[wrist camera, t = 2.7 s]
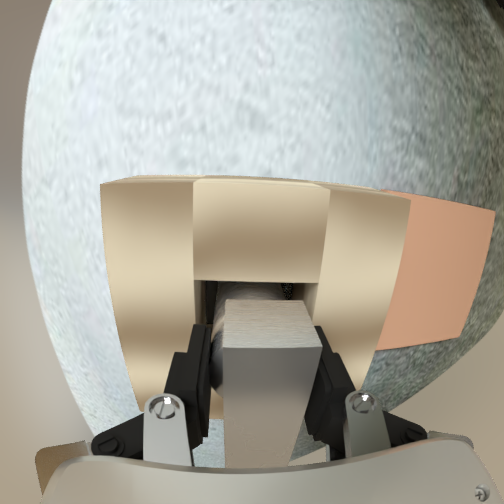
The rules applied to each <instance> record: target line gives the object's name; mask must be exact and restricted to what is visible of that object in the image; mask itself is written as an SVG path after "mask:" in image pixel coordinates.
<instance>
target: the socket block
mask: <svg viewBox="0 0 504 504" xmlns="http://www.w3.org/2000/svg"><path fill="white" fill-rule="evenodd" d="M100 197H101V216H102V230H103V241H104V250H105V259H106V267H107V274H108V281H109V288H110V294H111V299H112V305H113V310H114V316H115V321H116V325H117V330H118V335H119V339H120V343H121V347H122V351H123V355H124V359H125V363H126V367H127V371H128V374H129V378H130V381H131V384H132V388H133V391H134V394H135V397H136V400H137V404H138V407H139V409H140V411H142V412H144V407H145V403H146V402H147V400H148V399H149V398H151V397H152V396H154V395H157V394H163V392H164V388H165V385H166V381H167V377H168V373H169V369H170V366H171V362H172V358H173V355H174V352H187V350H188V345H189V341H190V336H191V332H192V328H193V324H205V325H206V328H211V337H212V329H213V324H206V287H205V280H215V281H245V282H289V283H293V289H292V297H291V300H303V302H304V305H305V307H306V309H307V311H308V314H309V316H310V318H311V320H312V323H313V325H314V326H319V325H320V326H321V327H322V329H323V332H324V334H325V336H326V338H327V340H328V342H329V345H330V347H331V349H332V351H333V353H335V352H337V353H339V355H340V357H341V359H342V361H343V363H344V365H345V367H346V369H347V371H348V373H349V376H350V378H351V380H352V382H353V384H354V386H355V388H356V391H358V390H360V389H361V387H362V384H363V382H364V379H365V377H366V374H367V372H368V369H369V366H370V364H371V361H372V358H373V355H374V353H375V350H376V347H377V344H378V341H379V338H380V335H381V332H382V329H383V325H384V322H385V319H386V316H387V312H388V309H389V305H390V302H391V298H392V294H393V290H394V286H395V283H396V278H397V274H398V270H399V266H400V261H401V256H402V252H403V247H404V241H405V236H406V231H407V225H408V219H409V212H410V205H411V200H410V199H406V198H403V197H400V196H397V195H393V194H390V193H387V192H383V191H380V190H376V189H373V188H369V187H364V186H356V185H347V184H339V183H329V182H319V181H308V180H297V179H283V178H268V177H250V176H224V175H139V176H133V177H129V178H124V179H120V180H116V181H111V182H107V183H103V184H100ZM209 419H224V409H223V398H222V397H221V396H219V395H218V394H217V393H216V392H215V391H214V389H213V388H211V401H210V414H209Z"/></svg>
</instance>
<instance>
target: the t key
mask: <svg viewBox="0 0 504 504" xmlns="http://www.w3.org/2000/svg"><path fill="white" fill-rule="evenodd" d="M322 347H323V346H322V344H321V341H320V339H319V337H318V334H317V332H316V330H315V327H314V325H313V323H312V320H311V318H310V316H309V314H308V311H307V309H306V307H305V305H304V302H303V300H286V298H285V295H284V292H283V289H282V286H281V283H280V282H245V281H219V283H218V289H217V297H216V305H215V313H214V321H213V329H212V337H211V350H210V359H209V378H210V385H211V387H212V388H213V389H214V391H215V392H216V393H217V394H218V395H219V396H221V397H222V398H223V409H224V446H225V468H272V467H287V466H288V463H289V460H290V458H291V455H292V452H293V449H294V446H295V443H296V440H297V437H298V434H299V431H300V428H301V424H302V421H303V418H304V415H305V411H306V408H307V405H308V401H309V398H310V394H311V390H312V387H313V383H314V379H315V376H316V372H317V368H318V364H319V360H320V356H321V352H322Z"/></svg>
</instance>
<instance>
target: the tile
mask: <svg viewBox="0 0 504 504" xmlns="http://www.w3.org/2000/svg"><path fill="white" fill-rule="evenodd" d="M381 191H383V192H387V193H390V194H393V195H397V196H400V197H403V198H406V199H410V200H411V205H410V212H409V219H408V225H407V231H406V236H405V241H404V247H403V252H402V256H401V261H400V266H399V270H398V274H397V278H396V283H395V286H394V290H393V294H392V298H391V302H390V305H389V309H388V312H387V316H386V319H385V322H384V325H383V329H382V332H381V335H380V338H379V341H378V344H377V347H376V350H384V349H392V348H399V347H406V346H413V345H419V344H425V343H431V342H436V341H442V340H447V339H452V338H457V337H459V336H460V334H461V332H462V329H463V327H464V324H465V322H466V319H467V317H468V314H469V311H470V309H471V306H472V303H473V300H474V297H475V294H476V291H477V288H478V285H479V282H480V278H481V275H482V272H483V268H484V264H485V261H486V257H487V253H488V248H489V244H490V240H491V235H492V230H493V225H494V219H495V213H496V212H495V211H492V210H489V209H485V208H481V207H477V206H472V205H468V204H463V203H459V202H454V201H449V200H444V199H439V198H434V197H428V196H423V195H417V194H411V193H405V192H399V191H392V190H385V189H381ZM376 350H375V351H376Z"/></svg>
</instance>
